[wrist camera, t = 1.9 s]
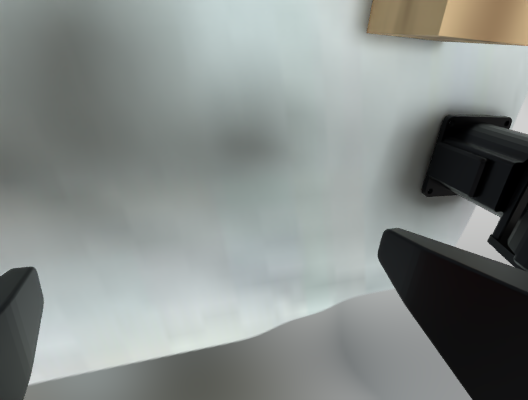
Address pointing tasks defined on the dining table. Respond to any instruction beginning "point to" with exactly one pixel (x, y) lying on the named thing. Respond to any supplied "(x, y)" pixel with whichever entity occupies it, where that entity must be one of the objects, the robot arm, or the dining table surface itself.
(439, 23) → the oak block
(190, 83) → the dining table surface
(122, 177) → the dining table surface
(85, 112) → the dining table surface
